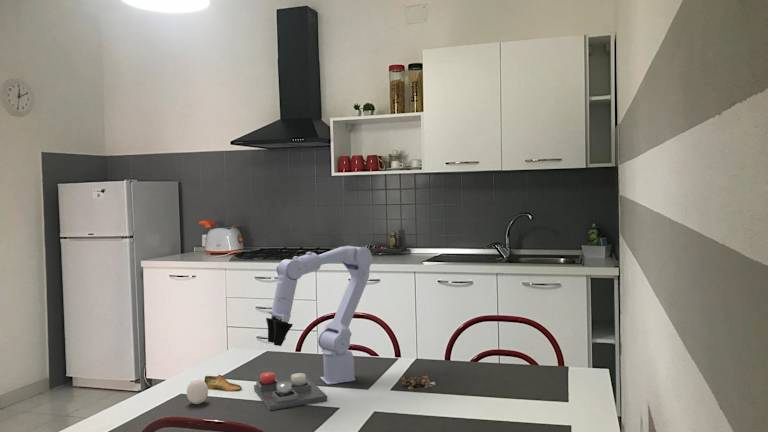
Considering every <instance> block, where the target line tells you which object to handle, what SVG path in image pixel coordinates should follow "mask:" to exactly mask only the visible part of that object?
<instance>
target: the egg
mask: <svg viewBox="0 0 768 432" xmlns="http://www.w3.org/2000/svg"><path fill="white" fill-rule="evenodd" d="M208 395H209V389H208V387H207V385H206V383H205V382H204V380H203V379H202V378H199V377H196V378H193V379H191V381H189V384H188V385H187V388H186V397H187V399H188V401H189V402H190V403H192V404H194V405H200V404H202V403H204V402H205V400H206V399H208Z"/></svg>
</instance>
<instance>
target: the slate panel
mask: <svg viewBox="0 0 768 432" xmlns="http://www.w3.org/2000/svg"><path fill="white" fill-rule="evenodd" d="M281 382H291V378H289V379H283V380H277V379H276V378H275V383H272V384H261V380H257V381H256V382H255V383H256V384H254V385H253V390H254V392H255V393H256V394H257V396H258V397H259V399H260V400H261V401H262V402H263V404H264V406H265V407H266V406H267V407H266V408H267V409H268V411H269V410H271V411H274V410H275V411H276V410H282V409H286V408H287V407H288V408H293V406H294V407H298V406H305V405H310V404H316V403H321V402H327V401H328V395H327V394H326V393H325V392H323V391H322V390H321V388H319V387H318V385H316V384H315V383H314V382H313V381H312V380H311V379H310V378H309V377H308V376H306V384H304V385H300V386H294V385H292V393H291V394H288V395H278V394H277V384H278V383H281ZM281 408H282V409H281Z"/></svg>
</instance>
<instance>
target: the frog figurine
mask: <svg viewBox="0 0 768 432" xmlns="http://www.w3.org/2000/svg"><path fill="white" fill-rule="evenodd" d="M400 381H401V385H409V386H408V387H407V389H409V390H414V387H421V386H424V388H425V389H426V388H429V387H430V388H431V387H433V386H435V385H436V382H435V381H432V382H431V381H430V379H429V376H428V375H427V374H426V375H423V376H420V377H418V376H417V375H414V374H411V375H405V374H403V376H402V377H401V378H400Z"/></svg>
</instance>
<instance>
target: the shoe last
mask: <svg viewBox="0 0 768 432" xmlns="http://www.w3.org/2000/svg"><path fill="white" fill-rule="evenodd" d="M203 381H204V382H205V383H206V385H207V387H208V390H220V391H225V392H237V391H241V390H242V386H241V385H239V384H237V383H232V382H230V381H228V380H227V379H225V377H224V376H222V374H218V375H216V376H215V375H213V376H212V375H205V376H204V380H203Z"/></svg>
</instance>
